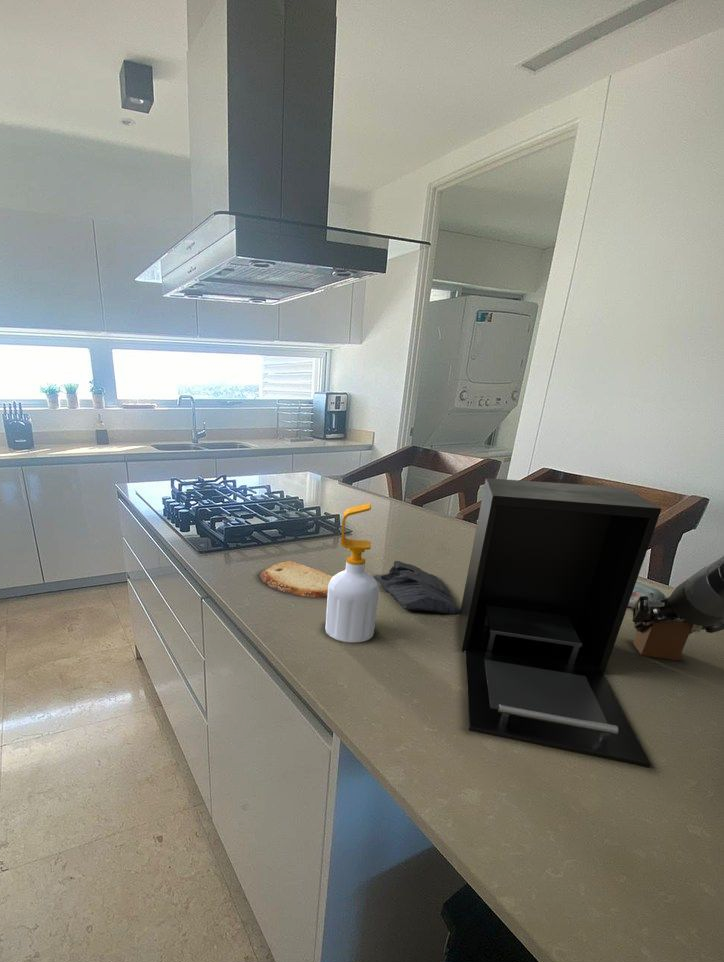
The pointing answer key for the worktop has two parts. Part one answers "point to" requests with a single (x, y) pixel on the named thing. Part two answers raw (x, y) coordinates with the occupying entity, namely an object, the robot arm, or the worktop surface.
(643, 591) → the packaged food
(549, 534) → the oven
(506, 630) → the rack
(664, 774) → the worktop surface
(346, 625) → the soap bottle
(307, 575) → the slice of bread
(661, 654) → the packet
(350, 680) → the worktop surface
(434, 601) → the dark grey crumpled cloth
